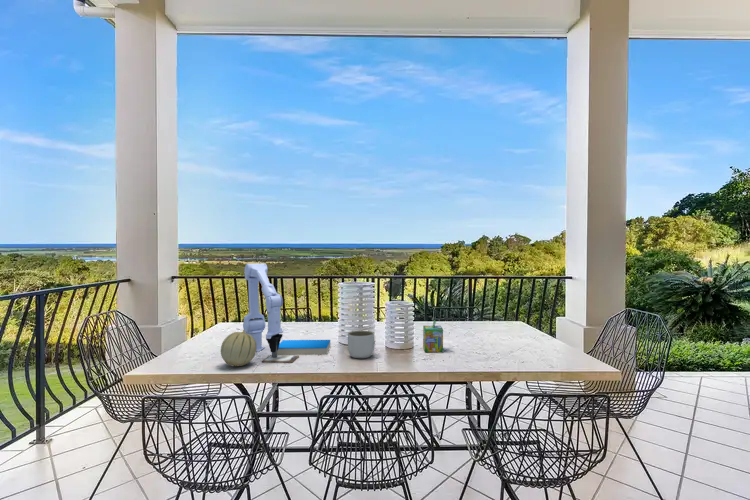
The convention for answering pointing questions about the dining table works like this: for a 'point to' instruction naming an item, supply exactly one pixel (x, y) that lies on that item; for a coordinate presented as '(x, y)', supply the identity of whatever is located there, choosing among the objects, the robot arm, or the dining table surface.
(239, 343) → the cantaloupe
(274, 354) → the marker
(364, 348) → the planter
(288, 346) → the book
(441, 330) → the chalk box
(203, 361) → the dining table surface
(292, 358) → the clipboard
